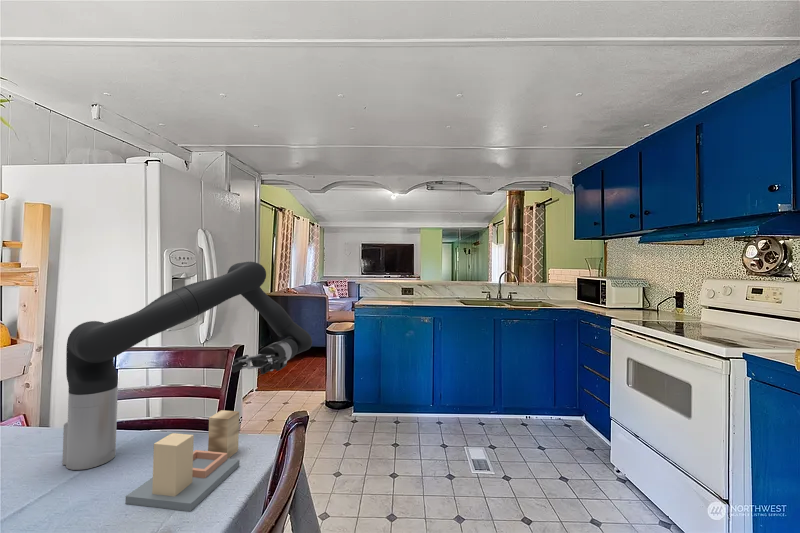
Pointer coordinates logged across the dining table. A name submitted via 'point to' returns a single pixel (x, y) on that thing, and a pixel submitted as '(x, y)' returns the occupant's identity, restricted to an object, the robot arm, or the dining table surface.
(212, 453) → the base board
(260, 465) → the dining table surface
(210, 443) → the maple pillar
